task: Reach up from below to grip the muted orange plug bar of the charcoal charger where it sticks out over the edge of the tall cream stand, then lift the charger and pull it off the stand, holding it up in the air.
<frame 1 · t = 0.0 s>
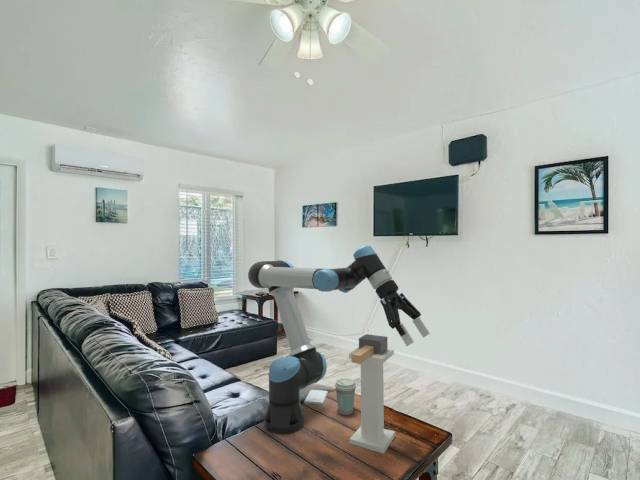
hand: (419, 339, 111), 36 cm above the table, tool tilted 35°, fingers open, 13 cm apart
charger: (369, 353, 116), point 30 cm above the table, touching tall stand
external hard drive: (316, 399, 150), on the table
coffee cup: (345, 412, 137), on the table
tall stand: (372, 439, 117), on the table
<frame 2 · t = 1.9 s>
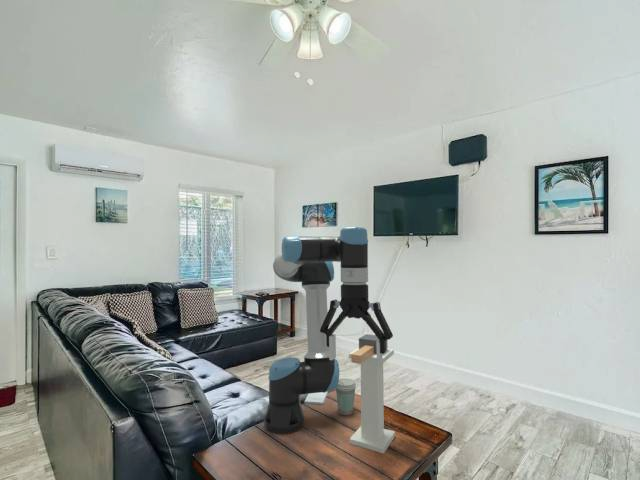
hand: (355, 362, 92), 35 cm above the table, tool pointing down, fingers open, 13 cm apart
nothing on the table moved.
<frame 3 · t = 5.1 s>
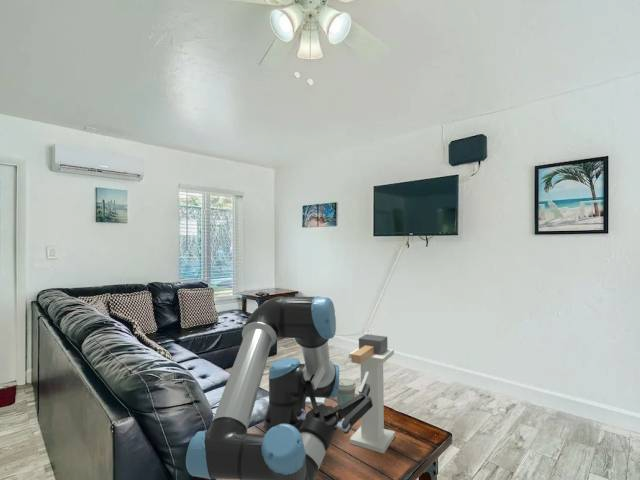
hand: (345, 371, 93), 32 cm above the table, tool pointing upward, fingers open, 13 cm apart
nothing on the table moved.
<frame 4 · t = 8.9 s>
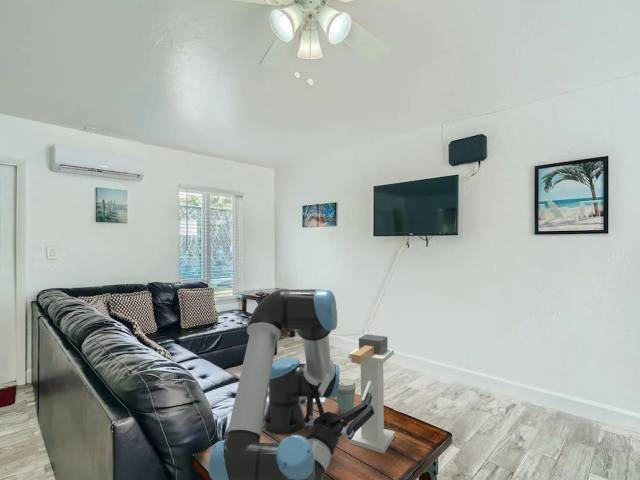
hand: (349, 380, 101), 27 cm above the table, tool pointing upward, fingers open, 13 cm apart
nothing on the table moved.
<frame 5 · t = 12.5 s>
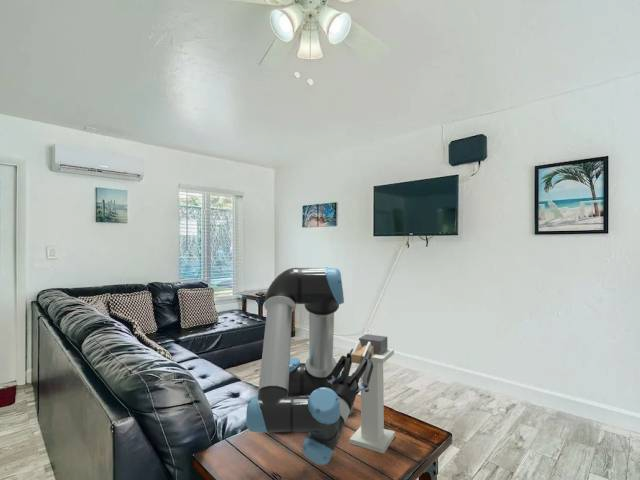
hand: (364, 344, 113), 34 cm above the table, tool pointing upward, fingers closed on charger, 3 cm apart
charger: (369, 353, 116), point 30 cm above the table, touching gripper, tall stand
everything else where it was.
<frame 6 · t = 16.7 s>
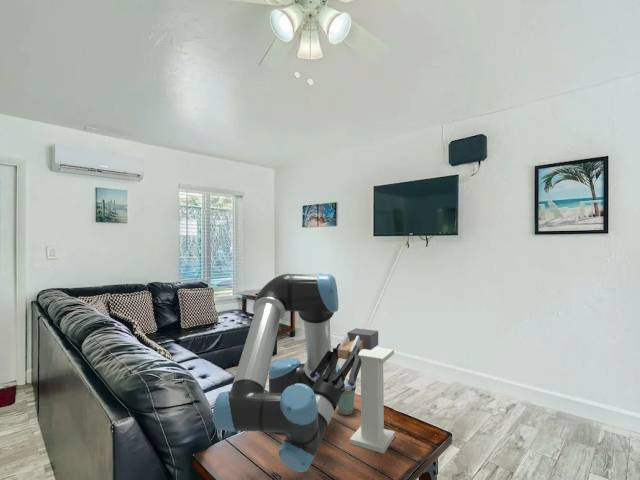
hand: (353, 338, 103), 38 cm above the table, tool pointing upward, fingers closed on charger, 3 cm apart
charger: (358, 348, 107), point 34 cm above the table, touching gripper
everything else where it was.
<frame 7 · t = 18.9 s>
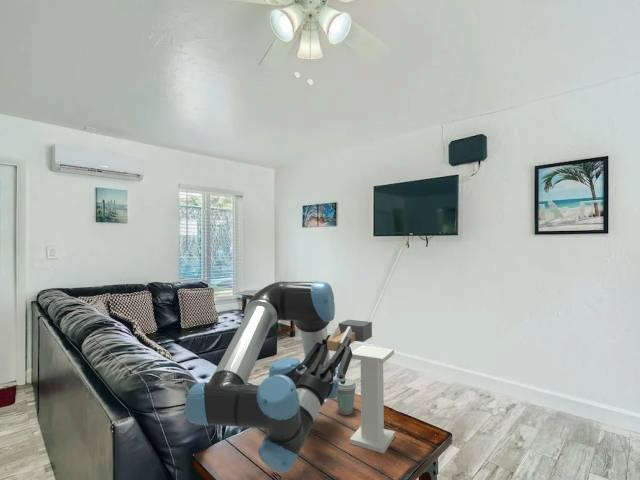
hand: (344, 329, 97), 43 cm above the table, tool pointing upward, fingers closed on charger, 3 cm apart
charger: (350, 340, 100), point 39 cm above the table, touching gripper
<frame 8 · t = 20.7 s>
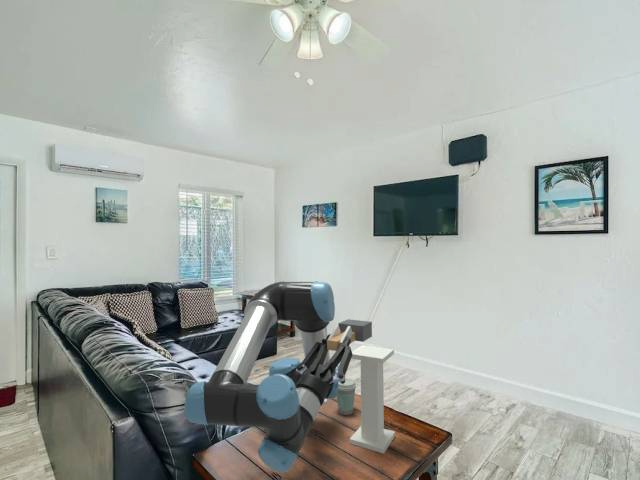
hand: (344, 329, 96), 43 cm above the table, tool pointing upward, fingers closed on charger, 3 cm apart
charger: (350, 340, 100), point 39 cm above the table, touching gripper
at the end: the gripper is holding charger; charger inside the target area (0.1 cm from its centre), point 38.7 cm above the table; charger touching gripper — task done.
